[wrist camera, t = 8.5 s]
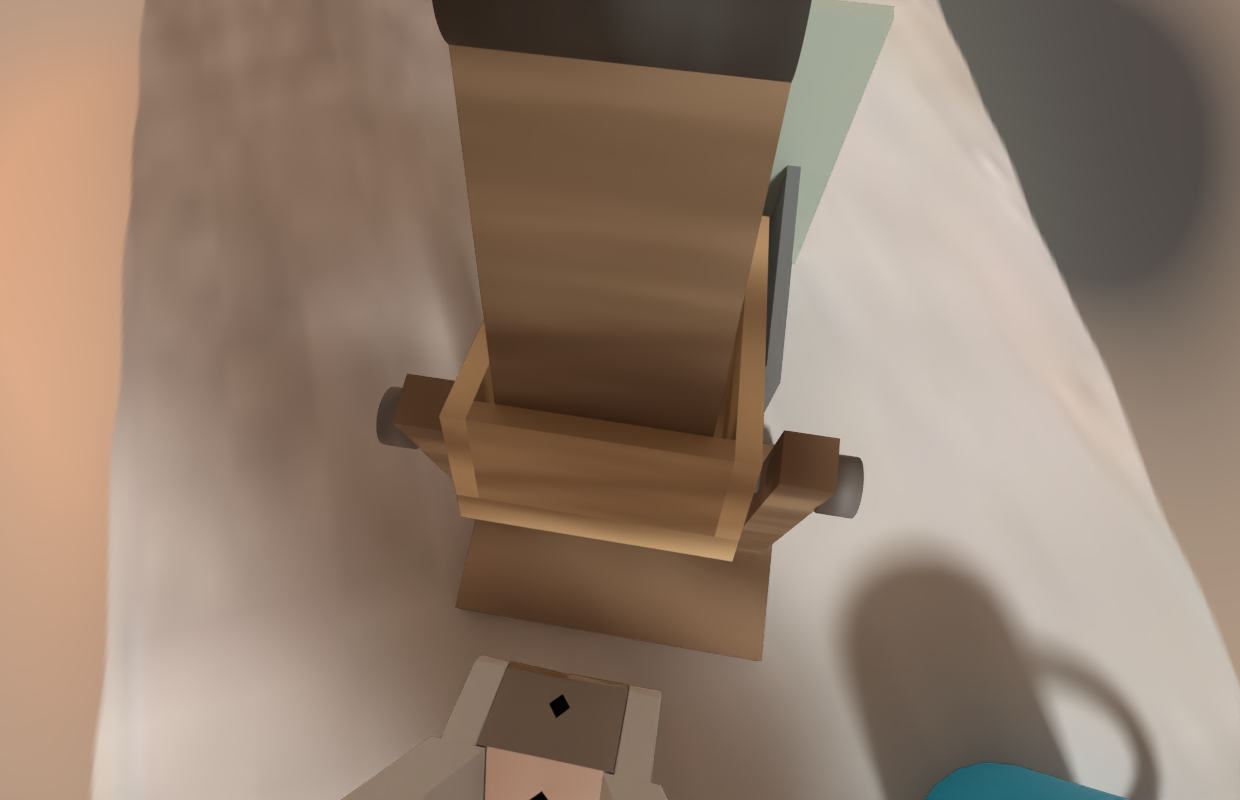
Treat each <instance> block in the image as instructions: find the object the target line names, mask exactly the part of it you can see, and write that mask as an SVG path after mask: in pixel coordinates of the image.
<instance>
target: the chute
mask: <svg viewBox="0 0 1240 800" xmlns="http://www.w3.org/2000/svg"><path fill="white" fill-rule="evenodd" d="M432 2H433V8H434V13H435V17H436V21H437V24H438V27H439V30H440V32H441V34H442V36H443V38H444V40H445V41H446V42H447V44H449V50H450V58H451V65H452V73H453V81H454V89H455V97H456V105H457V112H458V120H459V128H460V136H461V144H462V152H463V160H464V167H465V175H466V183H467V191H468V199H469V207H470V214H471V222H472V230H473V238H474V246H475V254H476V261H477V269H478V277H479V285H480V293H481V301H482V309H483V316H484V320H483V322H482V324H481V326H480V329H479V331H478V333H477V335H476V337H475V339H474V342H473V344H472V346H471V348H470V350H469V352H468V355H467V357H466V359H465V361H464V363H463V365H462V368H461V370H460V372H459V374H458V376H457V378H456V380H455V383H454V385H453V387H452V389H451V391H450V393H449V396H448V398H447V400H446V402H445V404H444V406H443V409H442V411H441V413H440V415H439V418H440V422H441V427H442V431H443V436H444V441H445V445H446V450H447V454H448V459H449V464H450V468H451V473H452V477H453V482H454V487H455V491H456V496H457V501H458V505H459V510H460V514H461V517H467V518H473V519H479V520H485V521H491V522H497V523H503V524H509V525H515V526H521V527H527V528H533V529H539V530H545V531H551V532H557V533H563V534H569V535H575V536H581V537H587V538H593V539H599V540H605V541H611V542H617V543H623V544H629V545H635V546H641V547H647V548H654V549H660V550H666V551H672V552H678V553H684V554H690V555H696V556H702V557H708V558H714V559H720V560H726V561H733V558H734V555H735V551H736V548H737V545H738V542H739V539H740V535H741V532H742V529H743V526H744V523H745V520H746V516H747V513H748V510H749V507H750V504H751V500H752V497H753V494H754V493H757V491H758V488H759V484H760V479H761V472H762V462H763V426H764V391H765V355H766V319H767V283H768V248H769V217H767V216H762V214H763V209H764V205H765V200H766V196H767V191H768V187H769V182H770V178H771V173H772V169H773V164H774V159H775V155H776V150H777V146H778V141H779V137H780V132H781V128H782V123H783V119H784V114H785V109H786V105H787V100H788V96H789V91H790V87H791V83H792V80H793V78H794V75H795V72H796V69H797V65H798V61H799V58H800V54H801V49H802V45H803V41H804V37H805V32H806V27H807V23H808V18H809V13H810V8H811V2H812V0H432Z"/></svg>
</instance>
